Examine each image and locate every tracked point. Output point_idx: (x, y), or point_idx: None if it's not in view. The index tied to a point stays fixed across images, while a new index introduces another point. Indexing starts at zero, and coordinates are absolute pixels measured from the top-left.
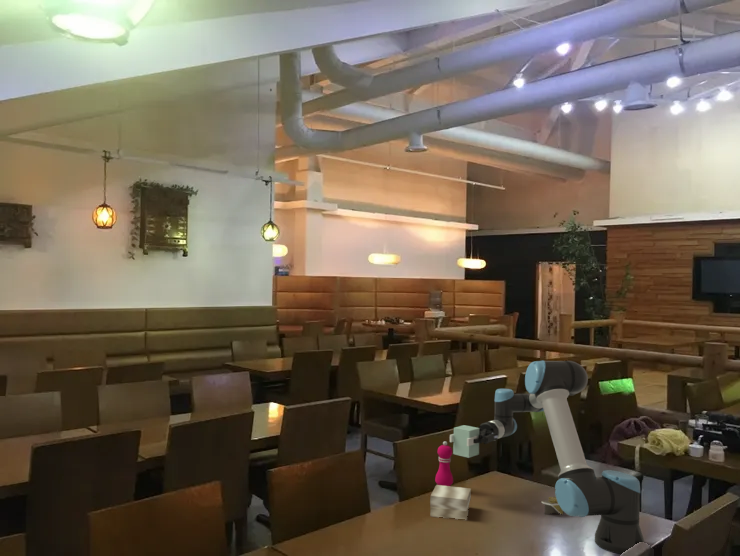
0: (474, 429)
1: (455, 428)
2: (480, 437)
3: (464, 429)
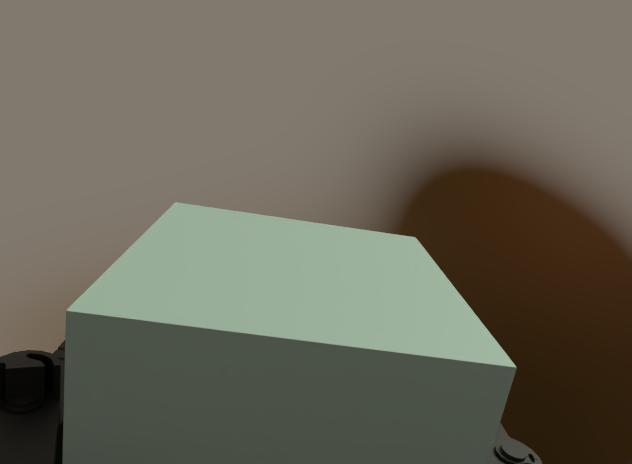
0: (140, 242)
1: (389, 238)
2: (16, 397)
3: (268, 223)
